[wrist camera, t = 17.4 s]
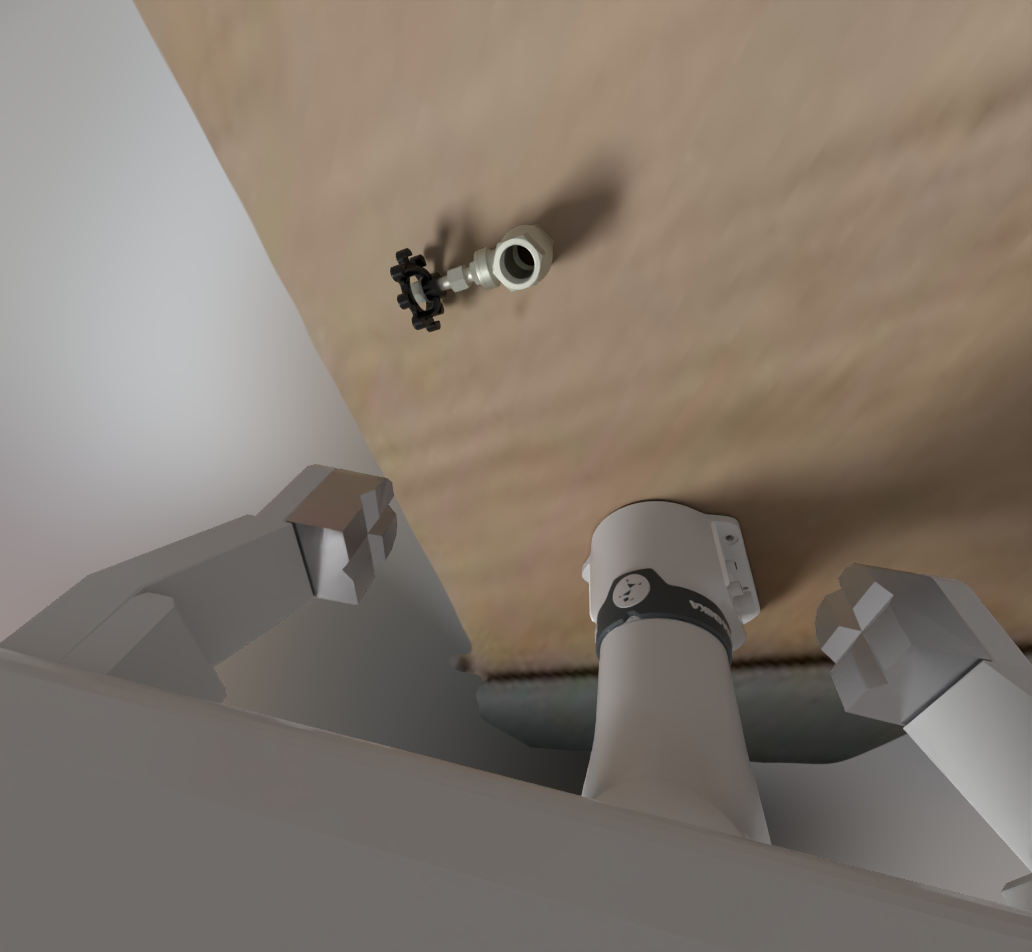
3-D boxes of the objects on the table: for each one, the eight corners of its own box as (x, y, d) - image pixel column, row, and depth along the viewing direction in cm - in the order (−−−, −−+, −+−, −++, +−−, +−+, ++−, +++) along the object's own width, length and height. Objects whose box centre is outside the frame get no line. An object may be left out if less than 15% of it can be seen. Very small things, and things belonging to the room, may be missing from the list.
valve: (545, 194, 35) (412, 245, 39) (530, 202, 30) (378, 259, 34) (567, 282, 38) (442, 320, 42) (557, 303, 33) (416, 344, 37)
